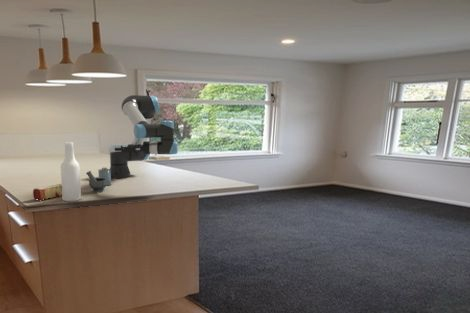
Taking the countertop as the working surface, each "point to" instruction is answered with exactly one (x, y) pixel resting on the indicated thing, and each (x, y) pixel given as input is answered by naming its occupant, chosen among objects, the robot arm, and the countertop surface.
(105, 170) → the glazed jar
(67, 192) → the alcohol
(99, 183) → the mortar and pestle
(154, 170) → the countertop surface
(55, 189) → the snack package
